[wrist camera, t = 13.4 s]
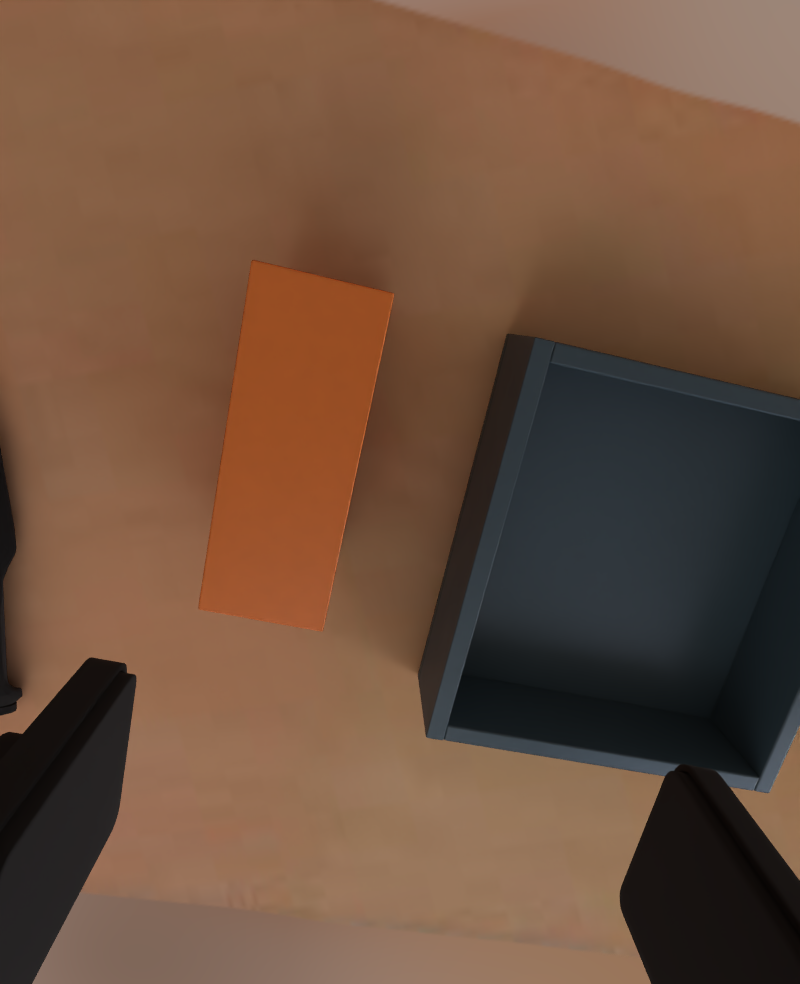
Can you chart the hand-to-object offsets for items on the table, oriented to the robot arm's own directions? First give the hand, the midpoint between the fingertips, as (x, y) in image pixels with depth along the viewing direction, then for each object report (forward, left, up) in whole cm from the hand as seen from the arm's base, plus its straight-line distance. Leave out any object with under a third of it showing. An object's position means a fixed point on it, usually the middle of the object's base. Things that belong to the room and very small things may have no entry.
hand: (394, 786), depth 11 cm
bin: (-12, +1, -20) cm, 23 cm away
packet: (+4, -2, -20) cm, 20 cm away
